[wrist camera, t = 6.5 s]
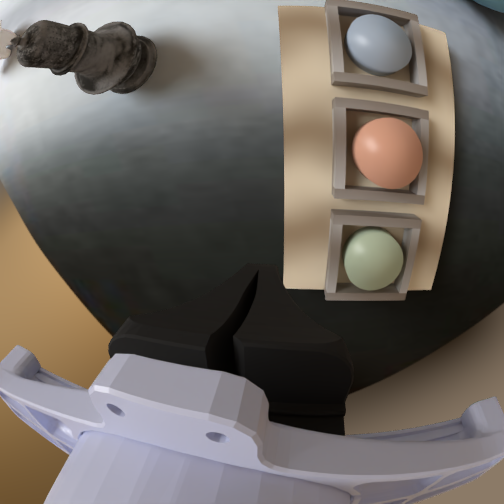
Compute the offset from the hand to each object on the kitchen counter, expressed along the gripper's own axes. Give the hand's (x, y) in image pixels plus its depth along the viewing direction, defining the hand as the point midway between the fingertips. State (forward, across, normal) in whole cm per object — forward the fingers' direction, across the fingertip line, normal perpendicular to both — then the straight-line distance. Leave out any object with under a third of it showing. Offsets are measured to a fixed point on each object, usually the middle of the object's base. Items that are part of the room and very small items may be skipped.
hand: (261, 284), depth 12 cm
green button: (+7, -7, +1) cm, 10 cm away
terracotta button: (+6, -7, -6) cm, 11 cm away
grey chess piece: (+9, +12, -13) cm, 20 cm away
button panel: (+9, -7, -6) cm, 12 cm away
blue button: (+7, -6, -13) cm, 16 cm away
